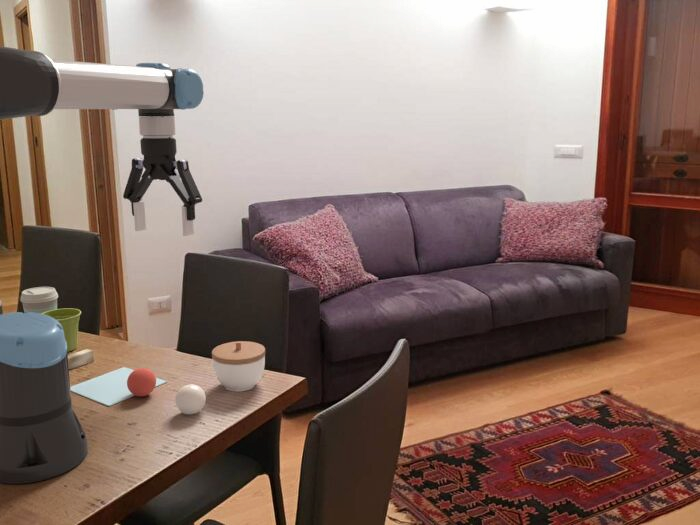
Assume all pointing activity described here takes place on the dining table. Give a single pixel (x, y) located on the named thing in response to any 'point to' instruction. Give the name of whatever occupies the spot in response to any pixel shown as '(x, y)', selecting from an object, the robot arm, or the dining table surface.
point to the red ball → (141, 382)
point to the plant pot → (67, 324)
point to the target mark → (108, 387)
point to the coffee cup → (39, 299)
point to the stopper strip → (80, 358)
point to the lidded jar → (239, 364)
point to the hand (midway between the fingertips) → (164, 232)
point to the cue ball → (190, 399)
